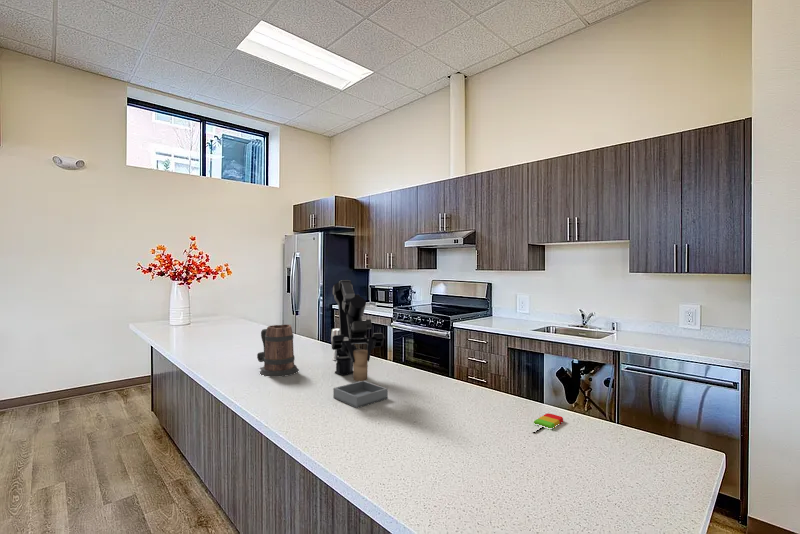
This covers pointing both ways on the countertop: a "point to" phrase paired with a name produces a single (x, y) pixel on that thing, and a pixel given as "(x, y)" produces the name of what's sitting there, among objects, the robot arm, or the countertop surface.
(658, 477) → the countertop surface
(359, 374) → the walnut cylinder
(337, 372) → the robot arm
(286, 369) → the tankard
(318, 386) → the countertop surface
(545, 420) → the popsicle
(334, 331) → the beer glass
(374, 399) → the tote
